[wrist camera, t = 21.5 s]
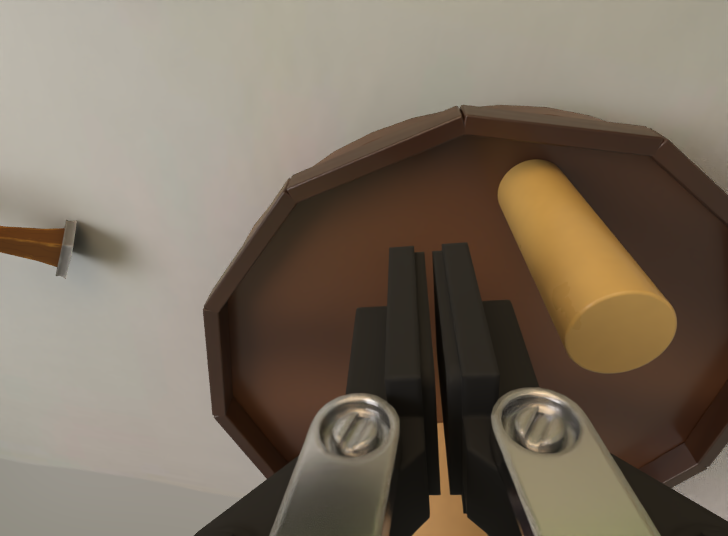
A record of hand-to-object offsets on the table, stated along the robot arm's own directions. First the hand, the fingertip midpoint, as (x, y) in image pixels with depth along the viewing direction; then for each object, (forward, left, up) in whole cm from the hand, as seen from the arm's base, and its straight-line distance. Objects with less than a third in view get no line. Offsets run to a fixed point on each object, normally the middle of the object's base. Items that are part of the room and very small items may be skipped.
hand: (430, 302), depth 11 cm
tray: (-4, +8, -8) cm, 12 cm away
